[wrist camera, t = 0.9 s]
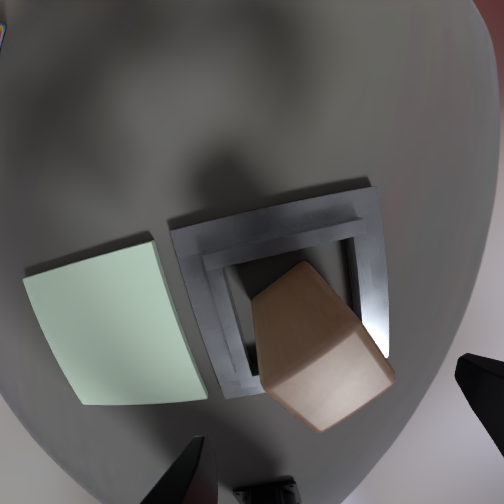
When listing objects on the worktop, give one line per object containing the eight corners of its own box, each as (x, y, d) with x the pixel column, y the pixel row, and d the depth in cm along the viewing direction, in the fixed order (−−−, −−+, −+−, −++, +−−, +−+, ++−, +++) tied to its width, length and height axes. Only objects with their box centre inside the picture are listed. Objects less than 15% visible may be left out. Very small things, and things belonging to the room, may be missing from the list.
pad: (208, 393, 18) (207, 398, 17) (85, 400, 18) (82, 404, 17) (154, 239, 15) (151, 241, 15) (27, 277, 15) (22, 279, 15)
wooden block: (339, 304, 17) (402, 382, 9) (288, 343, 17) (317, 439, 9) (303, 256, 16) (359, 316, 8) (248, 299, 16) (256, 389, 8)
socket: (384, 352, 18) (393, 363, 16) (225, 393, 18) (225, 408, 16) (371, 186, 15) (383, 186, 14) (172, 229, 15) (165, 233, 14)
